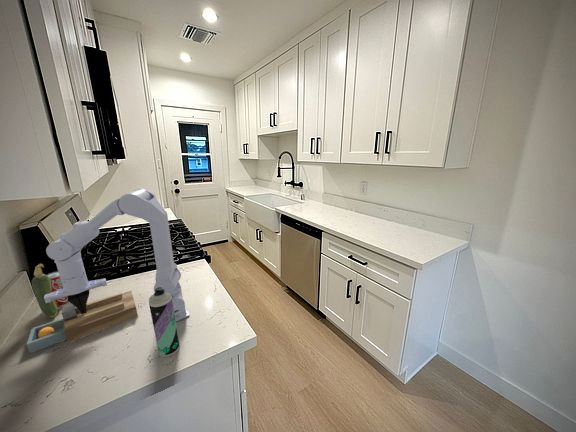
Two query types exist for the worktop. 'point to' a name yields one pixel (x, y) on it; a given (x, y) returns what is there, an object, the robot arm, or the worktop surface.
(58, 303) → the soda can
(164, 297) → the spray can
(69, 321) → the board
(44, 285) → the vegetable
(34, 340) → the shallow blue tray
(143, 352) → the worktop surface
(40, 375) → the worktop surface
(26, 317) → the worktop surface
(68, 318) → the block
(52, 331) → the ball
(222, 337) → the worktop surface
